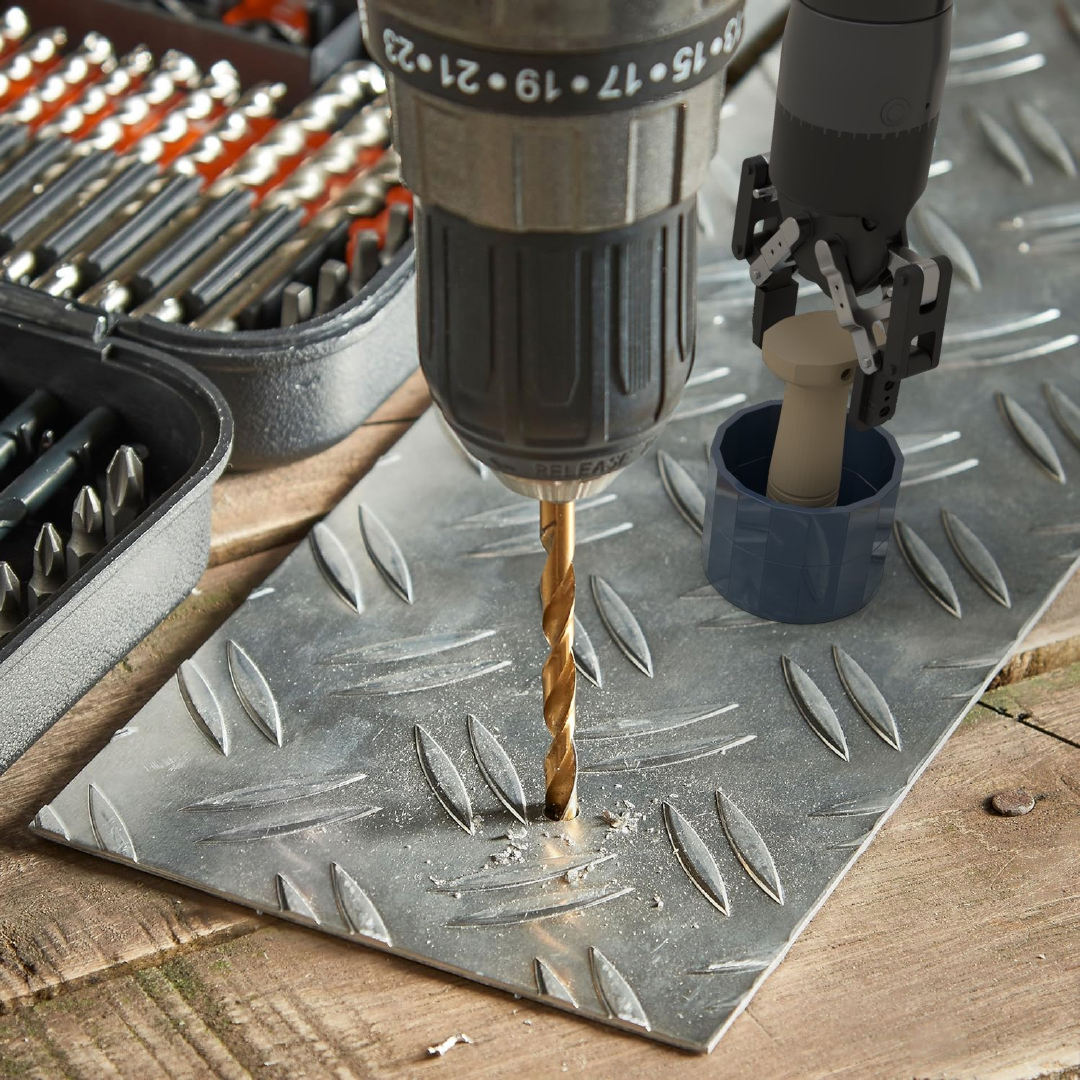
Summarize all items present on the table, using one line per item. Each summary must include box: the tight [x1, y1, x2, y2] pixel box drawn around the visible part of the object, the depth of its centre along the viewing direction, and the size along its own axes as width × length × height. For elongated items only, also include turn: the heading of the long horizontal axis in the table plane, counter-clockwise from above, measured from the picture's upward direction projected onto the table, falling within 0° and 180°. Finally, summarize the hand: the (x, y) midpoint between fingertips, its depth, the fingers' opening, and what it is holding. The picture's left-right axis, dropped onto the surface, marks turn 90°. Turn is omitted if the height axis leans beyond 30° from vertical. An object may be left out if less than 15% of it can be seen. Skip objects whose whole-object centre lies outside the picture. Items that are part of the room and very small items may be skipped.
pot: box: [700, 398, 906, 625], centre depth 87 cm, size 10×10×8 cm
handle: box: [761, 309, 887, 508], centre depth 84 cm, size 5×6×15 cm
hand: (817, 382), depth 81 cm, fingers open, 8 cm apart
